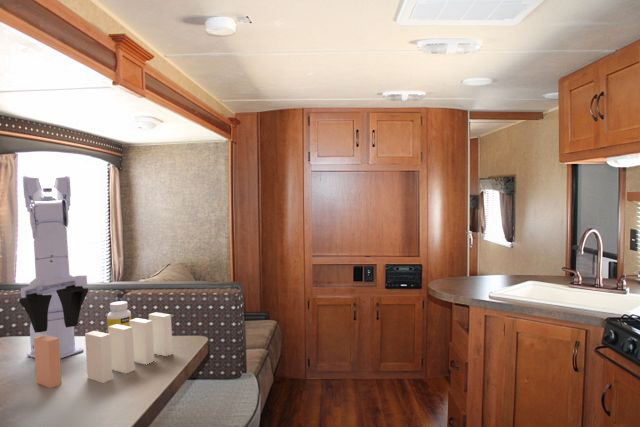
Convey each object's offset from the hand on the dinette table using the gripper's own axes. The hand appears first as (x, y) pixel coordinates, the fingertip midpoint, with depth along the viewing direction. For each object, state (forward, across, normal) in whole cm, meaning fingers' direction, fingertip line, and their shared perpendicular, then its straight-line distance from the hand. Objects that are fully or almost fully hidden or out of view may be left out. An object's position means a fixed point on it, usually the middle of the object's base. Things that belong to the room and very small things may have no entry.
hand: (56, 329), depth 86 cm
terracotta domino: (+10, -4, +1) cm, 11 cm away
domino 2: (+10, +6, +10) cm, 16 cm away
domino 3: (+10, +7, +15) cm, 19 cm away
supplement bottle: (+5, -7, +24) cm, 26 cm away
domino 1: (+11, +4, +6) cm, 13 cm away
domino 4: (+9, +8, +20) cm, 23 cm away
